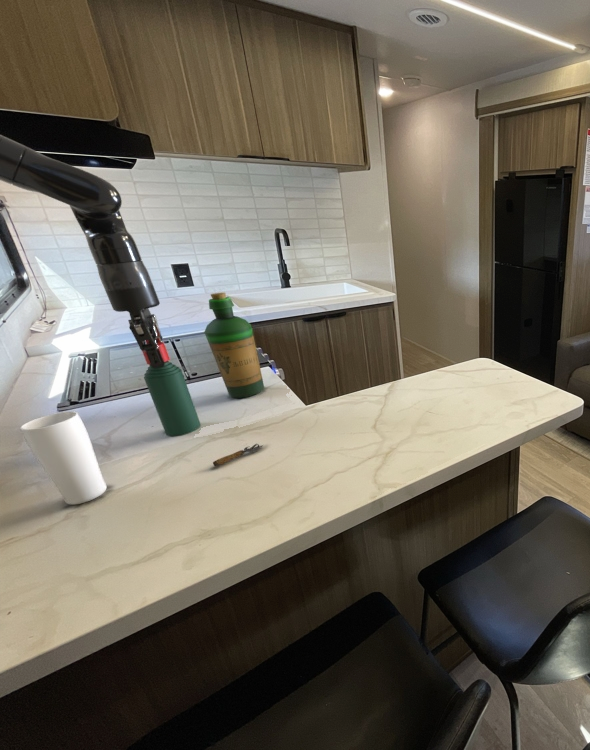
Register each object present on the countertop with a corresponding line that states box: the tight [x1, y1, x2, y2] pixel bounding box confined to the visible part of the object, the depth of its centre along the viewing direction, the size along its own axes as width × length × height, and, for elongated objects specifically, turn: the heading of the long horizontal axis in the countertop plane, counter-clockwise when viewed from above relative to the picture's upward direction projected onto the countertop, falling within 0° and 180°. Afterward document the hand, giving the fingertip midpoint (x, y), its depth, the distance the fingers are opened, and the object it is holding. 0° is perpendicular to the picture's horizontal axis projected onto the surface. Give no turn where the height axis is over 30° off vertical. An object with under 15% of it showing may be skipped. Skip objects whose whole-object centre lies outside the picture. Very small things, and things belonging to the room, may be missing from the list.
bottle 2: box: [203, 292, 265, 399], centre depth 109 cm, size 11×11×28 cm
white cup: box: [19, 411, 108, 506], centre depth 68 cm, size 7×7×15 cm
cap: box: [141, 341, 171, 365], centre depth 87 cm, size 4×4×4 cm
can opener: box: [212, 443, 264, 468], centre depth 80 cm, size 9×2×1 cm, turn 140°
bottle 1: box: [143, 360, 202, 437], centre depth 90 cm, size 7×7×20 cm
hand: (160, 364), depth 88 cm, fingers closed on cap, 3 cm apart
